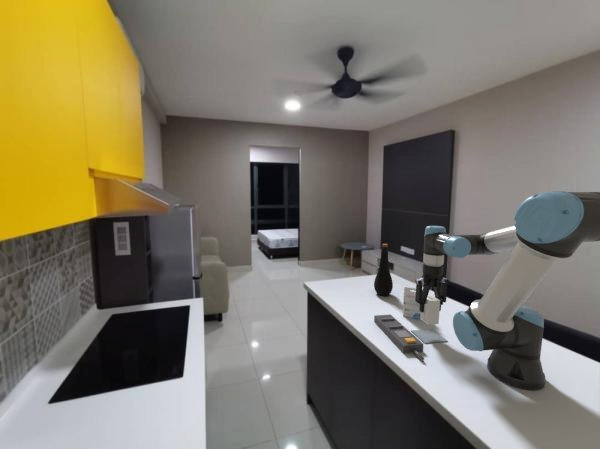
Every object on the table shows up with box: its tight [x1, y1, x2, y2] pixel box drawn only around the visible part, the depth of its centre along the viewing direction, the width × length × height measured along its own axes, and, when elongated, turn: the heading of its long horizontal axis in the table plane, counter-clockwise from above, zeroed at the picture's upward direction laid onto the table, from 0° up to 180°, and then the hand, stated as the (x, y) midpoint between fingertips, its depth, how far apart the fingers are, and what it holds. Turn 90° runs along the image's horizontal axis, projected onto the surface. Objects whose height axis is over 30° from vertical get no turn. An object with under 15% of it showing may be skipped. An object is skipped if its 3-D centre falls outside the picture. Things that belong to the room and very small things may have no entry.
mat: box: [410, 328, 448, 345], centre depth 117 cm, size 10×10×1 cm
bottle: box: [373, 243, 394, 298], centre depth 164 cm, size 11×11×30 cm
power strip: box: [373, 314, 425, 362], centre depth 115 cm, size 32×8×4 cm, turn 9°
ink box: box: [402, 286, 422, 321], centre depth 135 cm, size 8×5×15 cm, turn 62°
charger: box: [419, 295, 441, 326], centre depth 116 cm, size 5×5×10 cm
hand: (429, 318), depth 116 cm, fingers closed on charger, 5 cm apart
